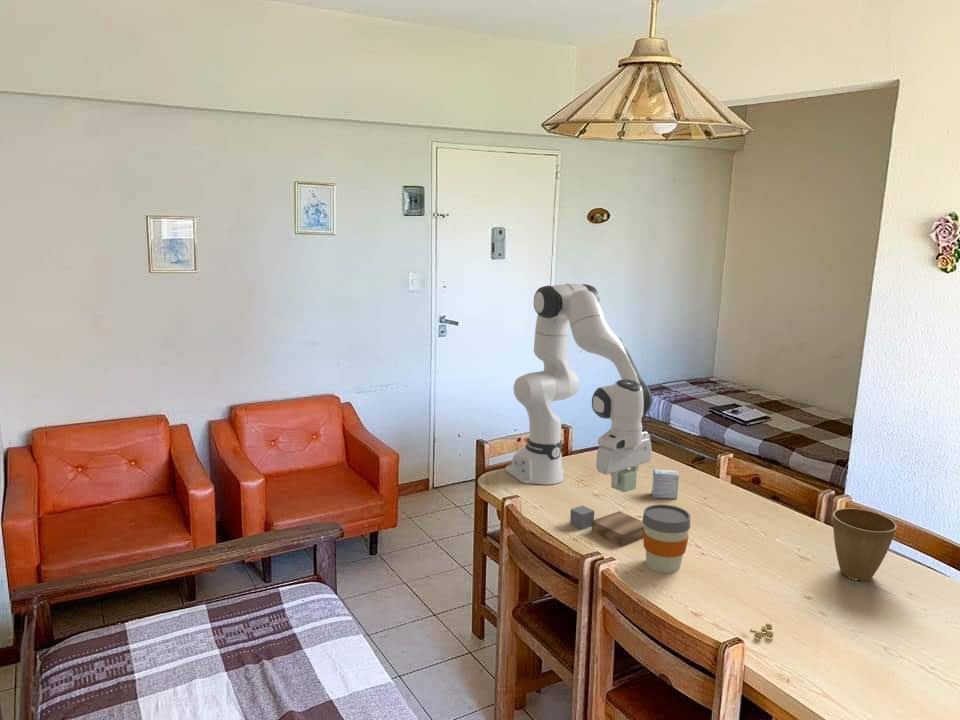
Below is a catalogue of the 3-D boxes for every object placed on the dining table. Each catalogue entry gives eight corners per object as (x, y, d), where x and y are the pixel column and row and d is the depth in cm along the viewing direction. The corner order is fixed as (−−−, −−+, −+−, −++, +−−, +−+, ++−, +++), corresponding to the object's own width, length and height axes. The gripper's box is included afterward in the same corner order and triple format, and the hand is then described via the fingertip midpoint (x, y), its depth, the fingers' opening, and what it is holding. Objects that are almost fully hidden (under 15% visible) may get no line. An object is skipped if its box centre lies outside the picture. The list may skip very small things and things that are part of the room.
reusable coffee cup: (688, 558, 205) (692, 508, 202) (685, 579, 193) (689, 526, 190) (642, 551, 209) (645, 501, 206) (636, 571, 197) (640, 519, 194)
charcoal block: (570, 524, 225) (570, 509, 224) (581, 520, 228) (582, 505, 227) (581, 530, 222) (582, 514, 220) (593, 526, 225) (594, 510, 224)
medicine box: (675, 494, 250) (677, 470, 248) (677, 499, 246) (679, 474, 244) (651, 493, 251) (653, 468, 249) (653, 498, 246) (655, 473, 245)
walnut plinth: (591, 533, 221) (591, 520, 220) (618, 523, 228) (619, 511, 227) (621, 548, 211) (622, 535, 210) (649, 537, 218) (650, 524, 218)
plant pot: (864, 594, 187) (872, 535, 184) (814, 568, 200) (820, 513, 197) (900, 581, 194) (909, 524, 191) (850, 557, 207) (857, 503, 204)
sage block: (611, 487, 217) (612, 471, 216) (622, 483, 220) (623, 467, 219) (624, 492, 213) (624, 476, 212) (635, 488, 216) (636, 472, 215)
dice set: (770, 630, 172) (771, 623, 171) (777, 643, 167) (778, 636, 166) (748, 629, 172) (748, 622, 172) (754, 642, 167) (755, 634, 167)
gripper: (641, 427, 222) (638, 471, 225) (593, 440, 209) (591, 486, 212) (658, 433, 217) (655, 477, 220) (610, 445, 205) (607, 492, 207)
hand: (623, 481), depth 216 cm, fingers closed on sage block, 5 cm apart
